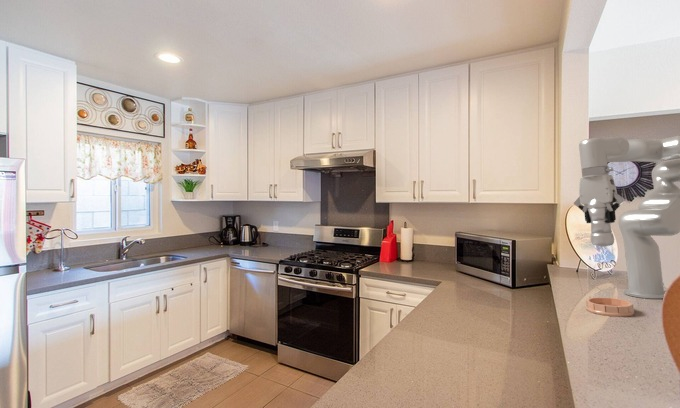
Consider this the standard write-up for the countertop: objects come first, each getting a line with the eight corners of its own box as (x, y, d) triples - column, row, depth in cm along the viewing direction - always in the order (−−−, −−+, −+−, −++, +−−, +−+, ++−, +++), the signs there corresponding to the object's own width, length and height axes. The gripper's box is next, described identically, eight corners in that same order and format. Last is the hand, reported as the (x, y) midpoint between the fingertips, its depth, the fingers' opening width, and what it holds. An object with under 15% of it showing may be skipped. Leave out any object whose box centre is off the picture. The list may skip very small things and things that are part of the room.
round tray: (597, 304, 114) (596, 295, 114) (641, 311, 103) (640, 302, 103) (578, 310, 108) (578, 301, 108) (623, 319, 98) (622, 309, 98)
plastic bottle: (619, 246, 112) (613, 189, 113) (597, 247, 114) (591, 190, 115) (608, 244, 119) (602, 190, 120) (587, 246, 120) (581, 192, 121)
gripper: (629, 168, 112) (635, 221, 111) (574, 176, 127) (579, 222, 126) (619, 168, 108) (625, 223, 107) (563, 176, 123) (568, 224, 123)
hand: (600, 222), depth 117 cm, fingers closed on plastic bottle, 6 cm apart
